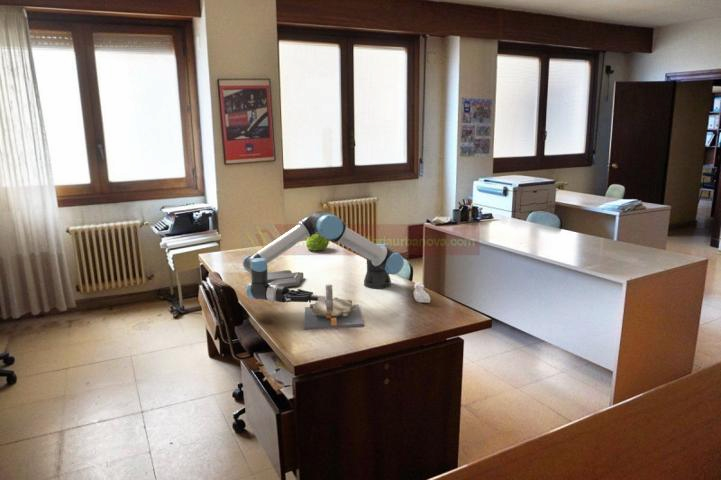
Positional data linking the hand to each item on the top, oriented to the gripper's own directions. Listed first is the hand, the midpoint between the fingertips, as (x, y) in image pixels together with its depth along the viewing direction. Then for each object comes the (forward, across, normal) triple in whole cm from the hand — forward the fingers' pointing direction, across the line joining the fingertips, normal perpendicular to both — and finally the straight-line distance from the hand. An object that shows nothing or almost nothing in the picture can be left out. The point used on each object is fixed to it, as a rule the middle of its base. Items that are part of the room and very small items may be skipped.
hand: (325, 298), depth 224 cm
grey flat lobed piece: (-49, -48, -12) cm, 70 cm away
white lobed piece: (0, -8, -8) cm, 11 cm away
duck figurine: (+35, -40, -11) cm, 54 cm away
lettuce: (-62, -127, -11) cm, 142 cm away
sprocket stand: (+1, -7, -11) cm, 13 cm away
